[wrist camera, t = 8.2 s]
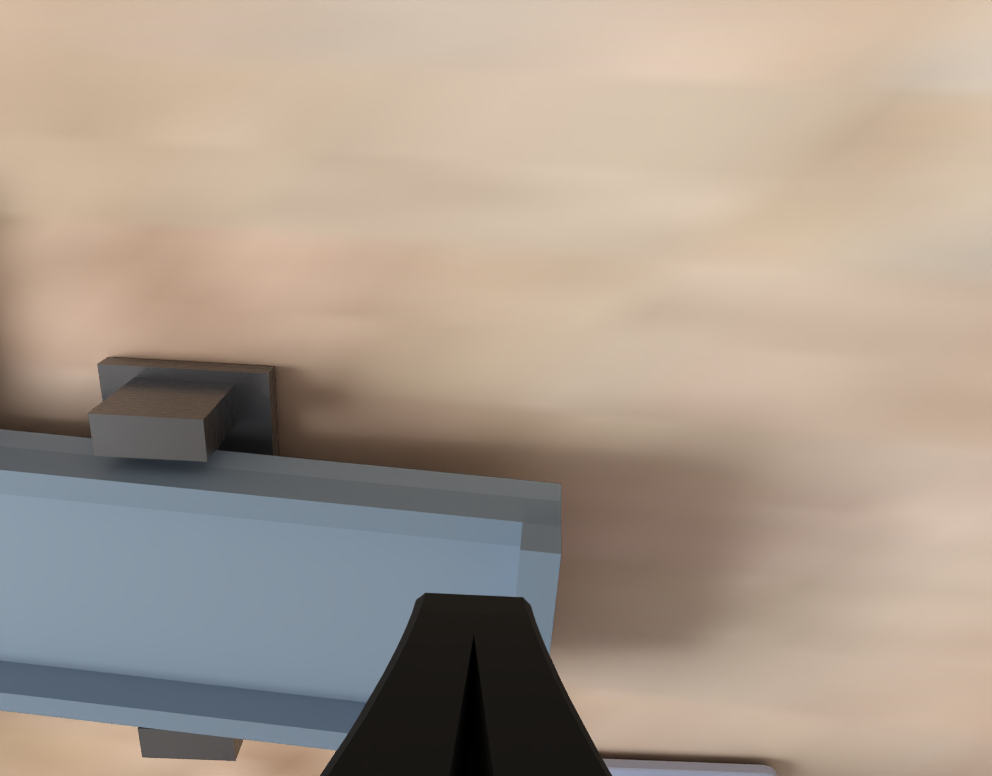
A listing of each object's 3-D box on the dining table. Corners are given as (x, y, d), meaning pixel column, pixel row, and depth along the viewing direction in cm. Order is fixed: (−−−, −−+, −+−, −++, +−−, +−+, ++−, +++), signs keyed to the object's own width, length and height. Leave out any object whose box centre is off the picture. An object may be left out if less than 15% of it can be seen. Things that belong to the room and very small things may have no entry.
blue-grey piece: (535, 709, 19) (531, 814, 17) (-100, 637, 20) (-208, 724, 18) (587, 241, 15) (593, 274, 12) (-238, 176, 16) (-416, 192, 13)
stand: (291, 694, 21) (266, 770, 19) (155, 689, 21) (112, 764, 19) (274, 366, 18) (240, 408, 15) (107, 356, 17) (46, 398, 15)
